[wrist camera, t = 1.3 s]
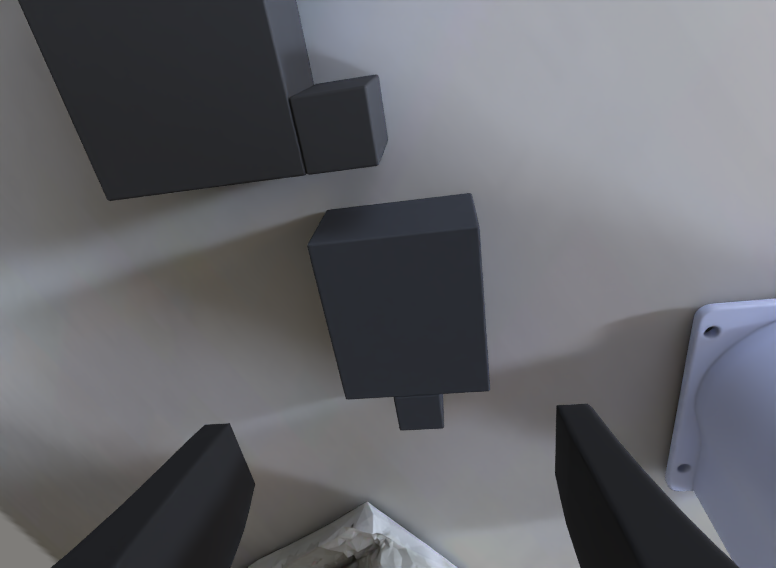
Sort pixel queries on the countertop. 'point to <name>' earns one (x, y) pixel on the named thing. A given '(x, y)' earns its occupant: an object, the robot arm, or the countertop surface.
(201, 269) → the countertop surface
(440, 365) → the graphite pad
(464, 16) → the countertop surface
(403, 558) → the packaged product
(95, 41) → the black pad
